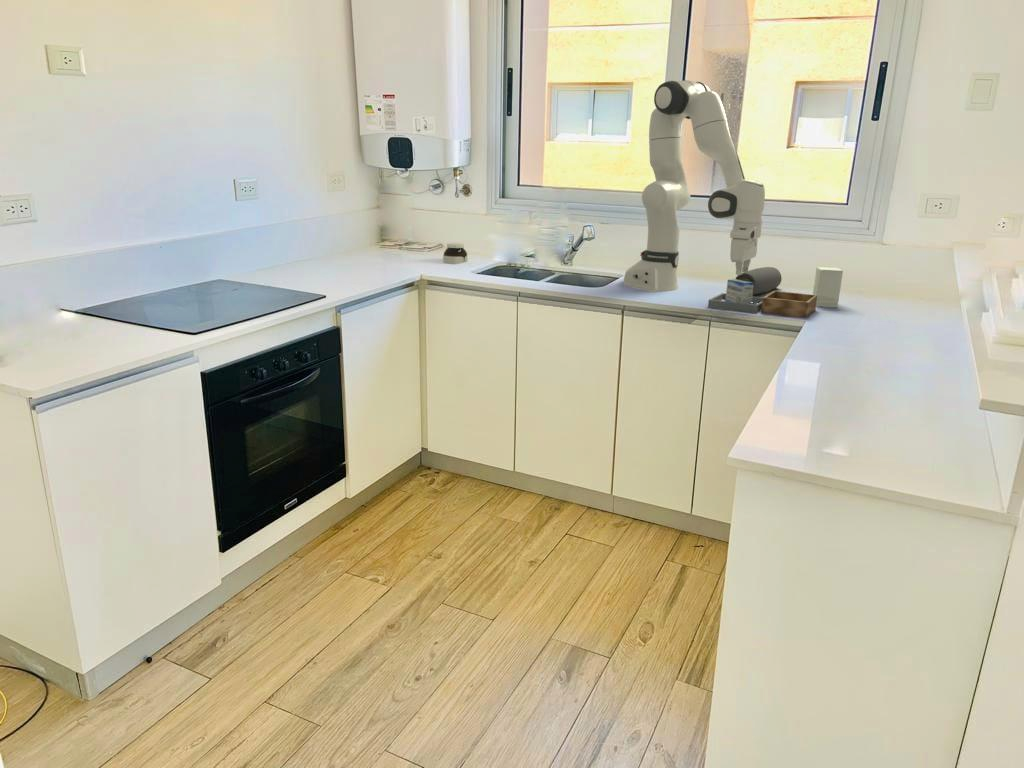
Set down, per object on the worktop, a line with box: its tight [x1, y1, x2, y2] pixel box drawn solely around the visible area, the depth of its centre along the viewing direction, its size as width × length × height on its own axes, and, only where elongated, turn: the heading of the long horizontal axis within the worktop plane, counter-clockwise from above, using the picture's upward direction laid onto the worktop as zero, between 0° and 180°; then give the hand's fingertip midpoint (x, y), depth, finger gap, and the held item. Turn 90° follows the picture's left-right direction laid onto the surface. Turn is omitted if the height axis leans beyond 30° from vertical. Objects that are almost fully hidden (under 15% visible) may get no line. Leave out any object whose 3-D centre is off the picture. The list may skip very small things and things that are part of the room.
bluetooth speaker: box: [734, 266, 783, 297], centre depth 272 cm, size 23×9×10 cm, turn 139°
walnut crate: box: [760, 290, 817, 319], centre depth 246 cm, size 14×16×5 cm
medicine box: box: [724, 278, 754, 304], centre depth 252 cm, size 8×4×9 cm, turn 29°
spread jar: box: [442, 242, 468, 265], centre depth 311 cm, size 12×11×12 cm
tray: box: [707, 292, 763, 314], centre depth 252 cm, size 16×16×2 cm
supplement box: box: [812, 266, 844, 308], centre depth 257 cm, size 7×7×13 cm
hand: (741, 273), depth 250 cm, fingers open, 6 cm apart
